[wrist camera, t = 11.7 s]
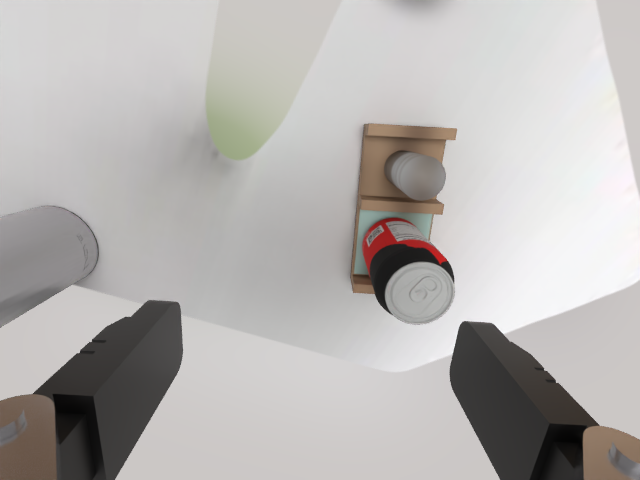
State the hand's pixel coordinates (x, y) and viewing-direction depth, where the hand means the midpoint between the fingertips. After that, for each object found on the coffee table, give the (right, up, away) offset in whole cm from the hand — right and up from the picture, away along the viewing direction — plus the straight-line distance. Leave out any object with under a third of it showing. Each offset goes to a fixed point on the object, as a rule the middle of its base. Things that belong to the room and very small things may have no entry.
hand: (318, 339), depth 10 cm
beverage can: (+8, +3, +27) cm, 28 cm away
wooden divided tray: (+8, +6, +27) cm, 29 cm away
